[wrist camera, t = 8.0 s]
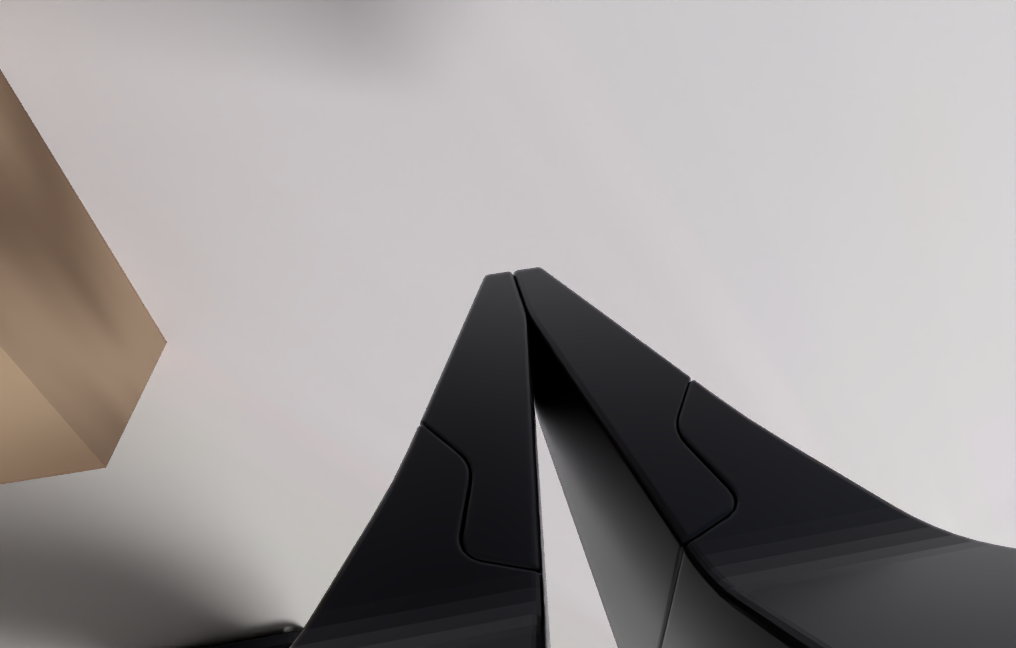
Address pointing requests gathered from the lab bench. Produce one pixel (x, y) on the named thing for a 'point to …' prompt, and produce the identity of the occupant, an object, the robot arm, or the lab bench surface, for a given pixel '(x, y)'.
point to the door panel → (60, 318)
